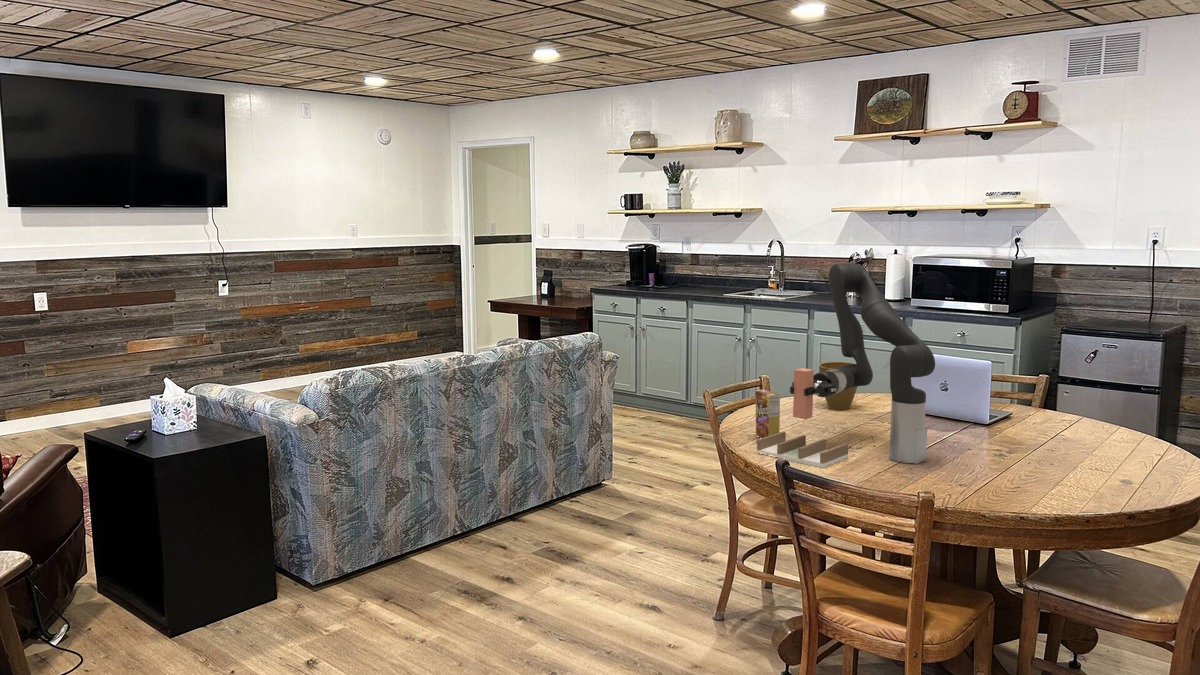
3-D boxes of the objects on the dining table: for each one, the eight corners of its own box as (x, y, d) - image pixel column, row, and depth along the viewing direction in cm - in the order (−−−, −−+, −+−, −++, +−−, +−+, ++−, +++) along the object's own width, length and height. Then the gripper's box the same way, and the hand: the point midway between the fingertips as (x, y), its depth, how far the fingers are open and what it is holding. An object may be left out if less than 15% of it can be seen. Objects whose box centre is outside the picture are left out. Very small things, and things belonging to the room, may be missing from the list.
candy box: (754, 436, 280) (755, 389, 278) (766, 435, 281) (767, 388, 279) (767, 443, 271) (768, 395, 269) (779, 442, 273) (781, 394, 271)
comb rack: (847, 457, 255) (848, 443, 254) (823, 467, 245) (823, 453, 244) (782, 444, 270) (782, 431, 269) (756, 453, 260) (757, 439, 260)
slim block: (812, 416, 256) (813, 369, 254) (805, 419, 253) (806, 371, 251) (800, 414, 259) (801, 368, 257) (793, 417, 256) (794, 369, 254)
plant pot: (812, 404, 327) (813, 362, 325) (851, 403, 328) (853, 361, 326) (825, 413, 312) (826, 368, 310) (866, 412, 313) (867, 368, 311)
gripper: (808, 367, 269) (777, 375, 257) (850, 373, 260) (820, 381, 247) (807, 391, 270) (776, 400, 258) (849, 398, 261) (819, 407, 248)
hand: (798, 391), depth 253 cm, fingers closed on slim block, 4 cm apart
